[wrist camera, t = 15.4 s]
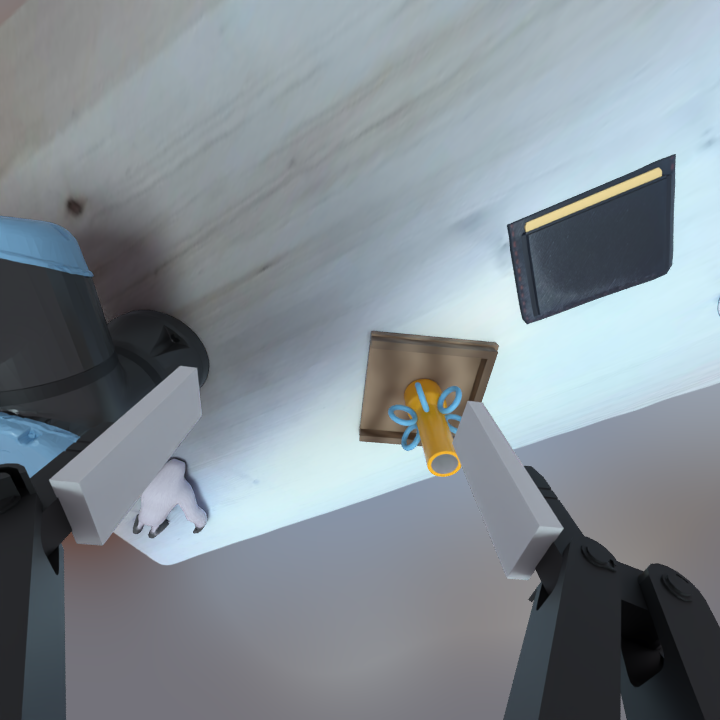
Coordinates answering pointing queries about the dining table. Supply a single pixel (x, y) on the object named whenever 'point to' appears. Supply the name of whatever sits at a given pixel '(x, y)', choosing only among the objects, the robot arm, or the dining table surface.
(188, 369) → the robot arm
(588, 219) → the wallet
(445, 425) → the cylinder
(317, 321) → the dining table surface
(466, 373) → the open-sided tray
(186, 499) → the yeti figurine
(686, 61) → the dining table surface
